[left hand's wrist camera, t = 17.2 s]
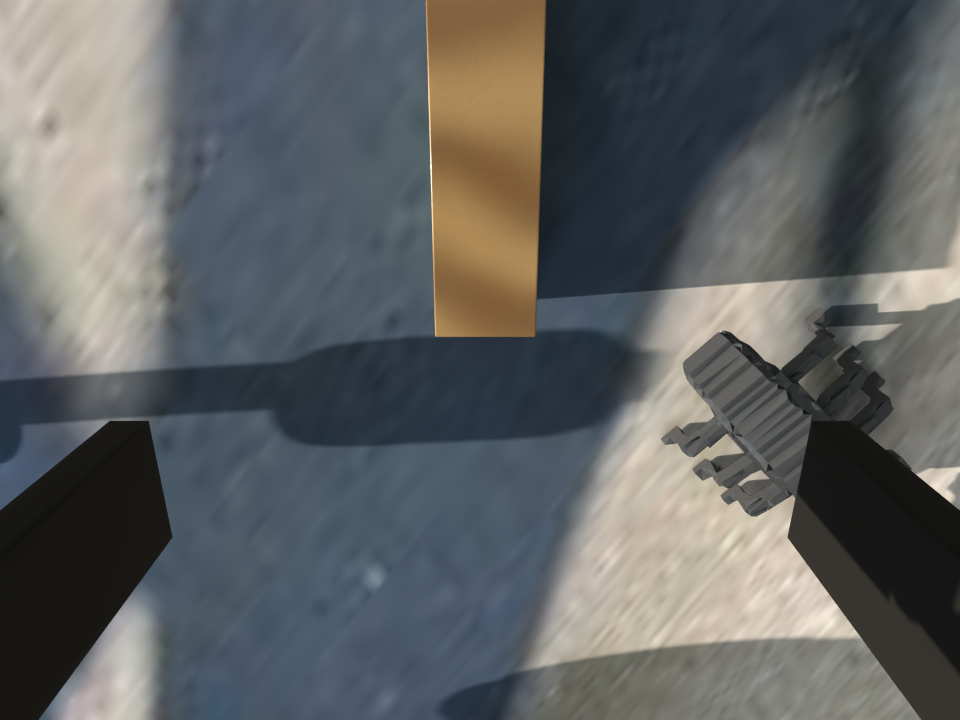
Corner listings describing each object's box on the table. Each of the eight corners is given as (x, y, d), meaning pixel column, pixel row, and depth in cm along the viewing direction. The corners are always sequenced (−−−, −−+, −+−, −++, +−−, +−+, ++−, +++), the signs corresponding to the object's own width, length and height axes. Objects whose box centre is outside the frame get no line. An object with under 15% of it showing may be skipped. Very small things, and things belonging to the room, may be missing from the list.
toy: (733, 209, 39) (925, 285, 22) (964, 472, 46) (1250, 688, 29) (573, 355, 43) (632, 518, 26) (809, 580, 49) (981, 828, 32)
